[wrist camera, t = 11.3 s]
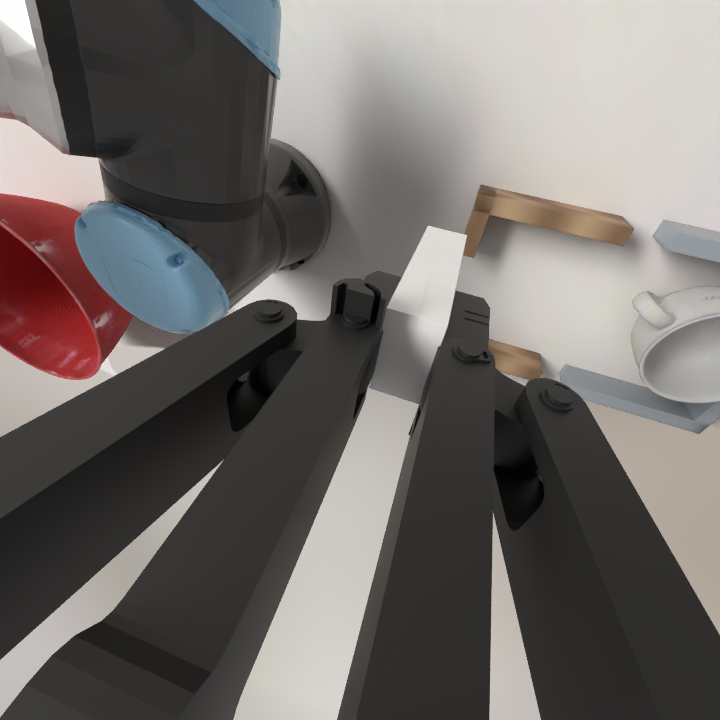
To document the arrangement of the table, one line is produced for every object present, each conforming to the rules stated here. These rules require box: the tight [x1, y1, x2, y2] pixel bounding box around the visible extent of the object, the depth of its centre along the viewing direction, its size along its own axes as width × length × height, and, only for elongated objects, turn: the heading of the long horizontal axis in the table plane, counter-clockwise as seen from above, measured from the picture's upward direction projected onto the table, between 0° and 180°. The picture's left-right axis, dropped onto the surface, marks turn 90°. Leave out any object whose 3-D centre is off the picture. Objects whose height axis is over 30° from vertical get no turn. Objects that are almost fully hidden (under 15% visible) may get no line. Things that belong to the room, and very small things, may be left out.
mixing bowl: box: [0, 194, 133, 380], centre depth 54 cm, size 28×28×16 cm
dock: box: [559, 220, 720, 434], centre depth 38 cm, size 16×20×4 cm
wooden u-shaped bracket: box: [463, 185, 634, 380], centre depth 40 cm, size 14×19×4 cm
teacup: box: [631, 286, 720, 403], centre depth 35 cm, size 14×11×8 cm
